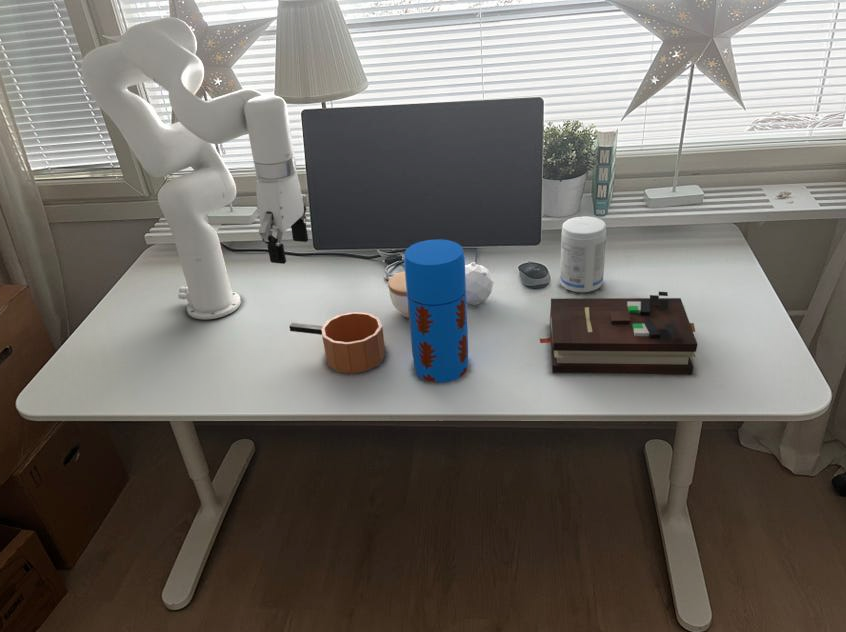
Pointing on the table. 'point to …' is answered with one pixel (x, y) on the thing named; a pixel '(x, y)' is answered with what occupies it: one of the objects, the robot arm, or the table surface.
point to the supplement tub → (582, 254)
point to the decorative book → (621, 336)
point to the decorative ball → (477, 283)
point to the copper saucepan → (350, 341)
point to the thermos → (437, 309)
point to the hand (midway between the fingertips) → (290, 251)
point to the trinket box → (399, 293)
